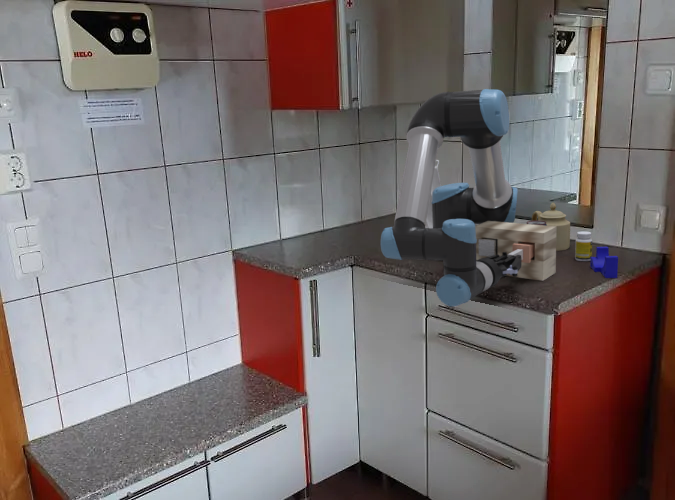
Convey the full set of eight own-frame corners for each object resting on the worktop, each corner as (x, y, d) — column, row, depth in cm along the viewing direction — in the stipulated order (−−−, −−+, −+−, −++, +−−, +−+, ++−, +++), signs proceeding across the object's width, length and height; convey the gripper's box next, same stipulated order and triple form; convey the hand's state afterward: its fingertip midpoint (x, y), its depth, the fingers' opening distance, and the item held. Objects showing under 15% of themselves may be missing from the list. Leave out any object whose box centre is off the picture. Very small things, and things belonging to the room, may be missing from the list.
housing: (474, 271, 187) (473, 226, 183) (488, 263, 193) (487, 220, 190) (543, 280, 173) (543, 233, 170) (555, 272, 180) (556, 226, 177)
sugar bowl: (517, 247, 211) (518, 202, 207) (533, 240, 218) (534, 197, 215) (560, 252, 201) (561, 206, 197) (575, 245, 208) (576, 200, 205)
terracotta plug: (512, 261, 174) (512, 244, 173) (530, 250, 183) (531, 234, 182) (529, 263, 171) (529, 245, 170) (547, 252, 180) (547, 236, 179)
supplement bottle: (593, 261, 189) (594, 234, 187) (576, 261, 190) (577, 234, 188) (590, 257, 193) (591, 230, 191) (573, 257, 194) (574, 231, 192)
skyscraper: (432, 231, 243) (430, 159, 236) (447, 234, 236) (445, 160, 230) (415, 235, 238) (413, 161, 231) (431, 238, 232) (429, 162, 225)
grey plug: (478, 255, 182) (478, 239, 181) (498, 245, 191) (498, 230, 190) (494, 257, 179) (494, 240, 178) (513, 247, 188) (513, 231, 187)
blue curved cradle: (590, 266, 184) (590, 247, 183) (606, 266, 183) (607, 246, 182) (599, 278, 173) (600, 257, 171) (617, 278, 172) (618, 257, 171)
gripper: (456, 286, 160) (498, 264, 177) (504, 294, 151) (543, 270, 169) (456, 258, 158) (498, 238, 175) (504, 264, 150) (544, 243, 167)
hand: (520, 254), depth 172 cm, fingers closed
